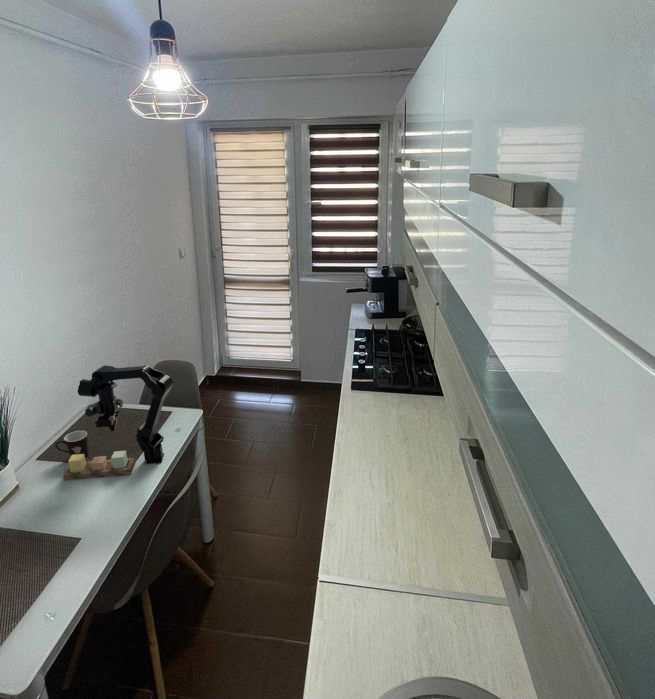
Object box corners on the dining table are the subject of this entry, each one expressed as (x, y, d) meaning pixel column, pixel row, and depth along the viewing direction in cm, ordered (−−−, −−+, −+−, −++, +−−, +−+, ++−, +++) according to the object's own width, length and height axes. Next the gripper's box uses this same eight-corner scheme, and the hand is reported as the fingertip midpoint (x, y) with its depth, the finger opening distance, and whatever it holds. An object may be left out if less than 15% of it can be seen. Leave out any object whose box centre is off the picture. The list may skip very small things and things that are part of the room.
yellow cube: (86, 464, 197) (84, 453, 195) (82, 471, 193) (80, 460, 191) (74, 465, 196) (72, 454, 195) (70, 472, 192) (67, 461, 190)
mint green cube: (128, 461, 199) (126, 450, 197) (125, 467, 195) (123, 457, 193) (116, 462, 198) (114, 451, 196) (113, 468, 194) (111, 458, 192)
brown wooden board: (135, 462, 202) (134, 457, 201) (130, 474, 194) (129, 469, 193) (71, 467, 199) (70, 462, 198) (63, 480, 191) (62, 475, 190)
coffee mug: (95, 451, 210) (91, 431, 206) (84, 463, 202) (79, 442, 198) (69, 450, 211) (65, 429, 207) (57, 461, 203) (52, 440, 199)
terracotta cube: (108, 466, 199) (106, 455, 197) (104, 473, 194) (102, 462, 192) (96, 467, 198) (94, 456, 196) (92, 474, 194) (90, 463, 192)
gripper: (92, 388, 204) (99, 421, 210) (77, 409, 187) (85, 444, 192) (120, 386, 205) (126, 419, 211) (108, 407, 188) (114, 442, 194)
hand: (113, 430), depth 202 cm, fingers closed
